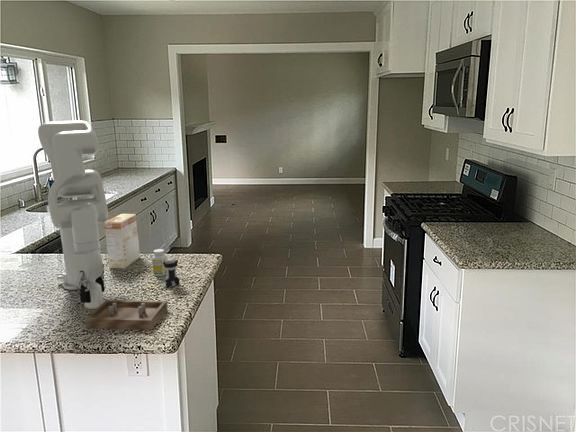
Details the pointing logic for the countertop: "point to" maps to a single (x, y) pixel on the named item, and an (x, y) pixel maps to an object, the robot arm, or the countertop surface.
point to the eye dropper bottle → (94, 296)
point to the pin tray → (127, 315)
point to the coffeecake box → (122, 240)
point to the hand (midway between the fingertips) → (93, 296)
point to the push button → (171, 272)
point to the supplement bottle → (159, 262)
